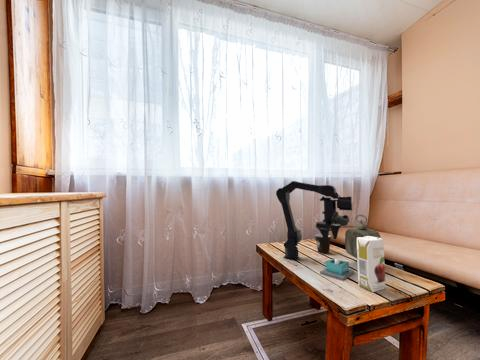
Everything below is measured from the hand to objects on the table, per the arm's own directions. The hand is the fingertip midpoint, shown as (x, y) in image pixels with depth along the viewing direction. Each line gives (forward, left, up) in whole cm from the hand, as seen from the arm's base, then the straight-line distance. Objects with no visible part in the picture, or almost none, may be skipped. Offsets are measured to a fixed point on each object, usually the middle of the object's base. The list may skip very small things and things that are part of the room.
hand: (330, 240), depth 108 cm
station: (+7, -9, -12) cm, 17 cm away
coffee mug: (-14, +18, -12) cm, 26 cm away
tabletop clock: (+11, +10, -12) cm, 19 cm away
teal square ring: (+7, -9, -11) cm, 16 cm away
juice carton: (+22, -13, -12) cm, 28 cm away
